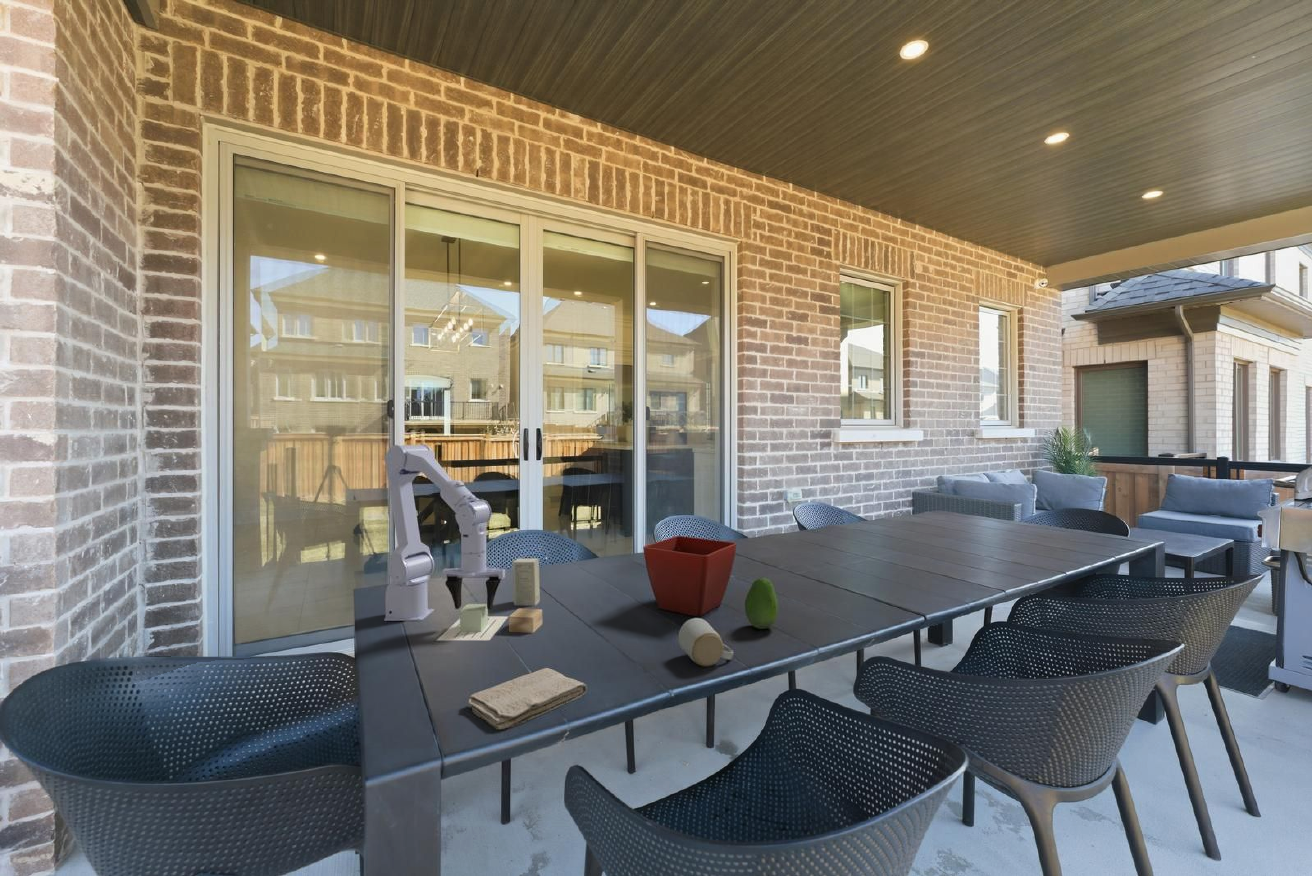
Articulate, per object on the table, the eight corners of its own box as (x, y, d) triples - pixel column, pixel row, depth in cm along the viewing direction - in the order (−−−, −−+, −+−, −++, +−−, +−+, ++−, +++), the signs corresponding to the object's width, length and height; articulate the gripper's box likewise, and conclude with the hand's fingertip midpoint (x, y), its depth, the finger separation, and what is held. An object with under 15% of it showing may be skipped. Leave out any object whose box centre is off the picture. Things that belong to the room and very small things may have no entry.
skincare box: (540, 601, 154) (539, 558, 154) (535, 606, 150) (534, 561, 149) (518, 601, 155) (518, 557, 155) (512, 606, 150) (512, 561, 150)
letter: (436, 641, 125) (436, 640, 125) (461, 617, 141) (461, 616, 141) (489, 641, 125) (489, 640, 125) (508, 617, 141) (508, 616, 141)
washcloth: (463, 711, 95) (463, 693, 95) (548, 676, 108) (548, 661, 108) (501, 737, 87) (500, 717, 87) (588, 696, 100) (588, 679, 100)
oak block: (509, 633, 131) (508, 616, 131) (519, 624, 137) (518, 608, 136) (533, 634, 130) (533, 617, 130) (542, 625, 136) (542, 609, 136)
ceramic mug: (692, 671, 109) (693, 632, 109) (677, 655, 117) (678, 618, 117) (740, 664, 113) (741, 627, 113) (723, 649, 120) (723, 614, 120)
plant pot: (738, 603, 152) (738, 542, 152) (706, 624, 136) (706, 555, 136) (678, 592, 162) (677, 535, 162) (641, 610, 146) (641, 547, 146)
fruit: (784, 627, 133) (784, 577, 133) (766, 636, 127) (766, 584, 127) (756, 619, 138) (756, 572, 138) (738, 628, 133) (738, 578, 132)
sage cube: (460, 631, 130) (459, 610, 130) (467, 624, 135) (467, 604, 135) (481, 631, 130) (481, 610, 130) (487, 624, 135) (487, 604, 135)
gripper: (437, 555, 129) (437, 613, 129) (499, 555, 129) (499, 613, 129) (448, 548, 136) (448, 603, 136) (507, 548, 136) (507, 603, 136)
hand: (474, 607), depth 133 cm, fingers open, 7 cm apart
